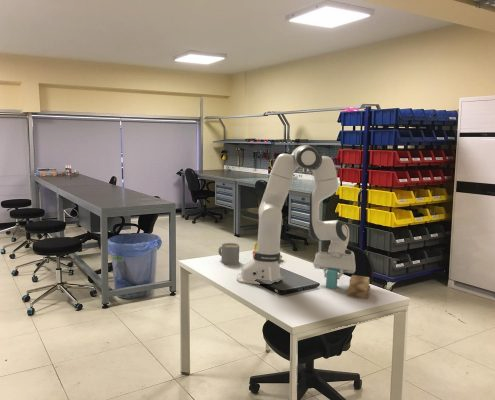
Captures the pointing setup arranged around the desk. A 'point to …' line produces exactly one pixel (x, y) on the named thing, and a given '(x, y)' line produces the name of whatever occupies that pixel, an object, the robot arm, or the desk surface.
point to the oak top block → (359, 282)
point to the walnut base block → (358, 293)
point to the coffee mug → (229, 253)
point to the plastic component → (257, 248)
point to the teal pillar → (331, 278)
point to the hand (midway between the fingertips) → (331, 277)
